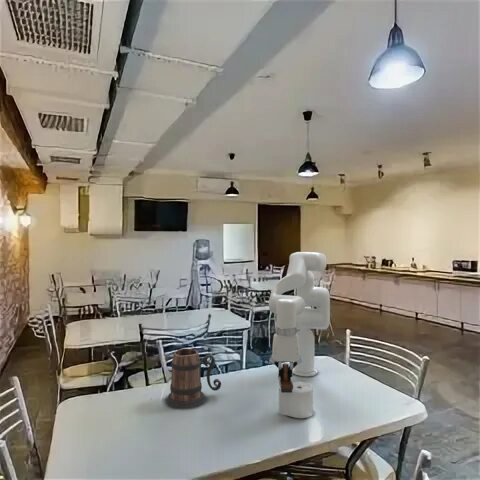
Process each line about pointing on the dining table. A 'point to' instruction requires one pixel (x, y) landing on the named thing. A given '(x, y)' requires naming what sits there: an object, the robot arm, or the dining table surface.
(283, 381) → the brush
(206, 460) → the dining table surface
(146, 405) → the dining table surface
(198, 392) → the tankard
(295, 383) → the toilet tissue
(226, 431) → the dining table surface
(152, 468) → the dining table surface
